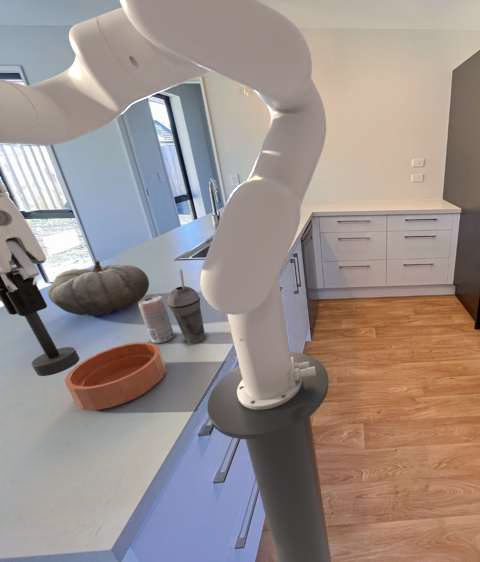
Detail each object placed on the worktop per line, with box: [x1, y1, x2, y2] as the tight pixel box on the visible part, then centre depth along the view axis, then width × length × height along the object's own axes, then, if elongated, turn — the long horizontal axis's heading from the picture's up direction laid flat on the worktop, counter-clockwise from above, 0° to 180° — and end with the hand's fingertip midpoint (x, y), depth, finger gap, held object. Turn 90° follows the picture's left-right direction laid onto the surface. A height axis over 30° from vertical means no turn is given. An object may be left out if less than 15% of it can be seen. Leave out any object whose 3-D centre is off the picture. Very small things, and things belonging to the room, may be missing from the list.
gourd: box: [47, 259, 150, 317], centre depth 99 cm, size 25×25×17 cm
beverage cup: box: [167, 269, 206, 345], centre depth 79 cm, size 7×7×20 cm
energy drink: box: [138, 295, 175, 344], centre depth 81 cm, size 5×5×12 cm
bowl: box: [64, 341, 167, 411], centre depth 65 cm, size 16×16×6 cm
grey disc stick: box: [24, 311, 81, 377], centre depth 47 cm, size 5×5×16 cm
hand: (29, 310), depth 46 cm, fingers closed on grey disc stick, 1 cm apart
